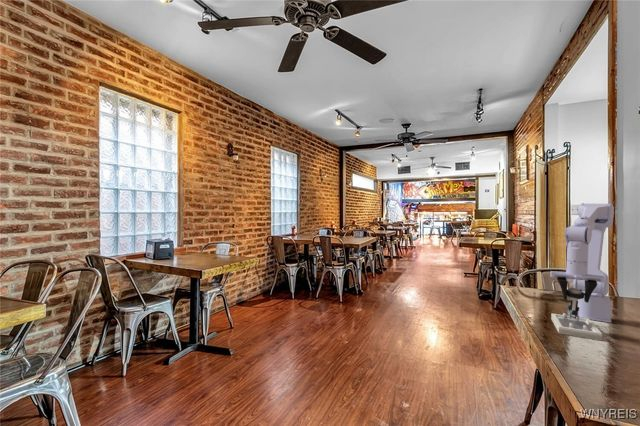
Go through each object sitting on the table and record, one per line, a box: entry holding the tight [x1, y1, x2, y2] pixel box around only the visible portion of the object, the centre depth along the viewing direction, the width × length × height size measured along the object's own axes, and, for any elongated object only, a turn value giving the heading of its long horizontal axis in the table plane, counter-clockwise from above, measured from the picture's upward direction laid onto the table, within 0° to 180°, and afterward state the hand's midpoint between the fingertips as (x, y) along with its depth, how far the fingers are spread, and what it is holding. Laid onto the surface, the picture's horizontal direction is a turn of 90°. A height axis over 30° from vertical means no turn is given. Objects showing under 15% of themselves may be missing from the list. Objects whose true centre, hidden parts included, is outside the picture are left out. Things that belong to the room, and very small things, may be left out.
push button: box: [566, 286, 585, 320], centre depth 112 cm, size 7×5×10 cm
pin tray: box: [550, 312, 603, 341], centre depth 112 cm, size 11×16×3 cm
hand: (575, 300), depth 111 cm, fingers closed on push button, 5 cm apart
